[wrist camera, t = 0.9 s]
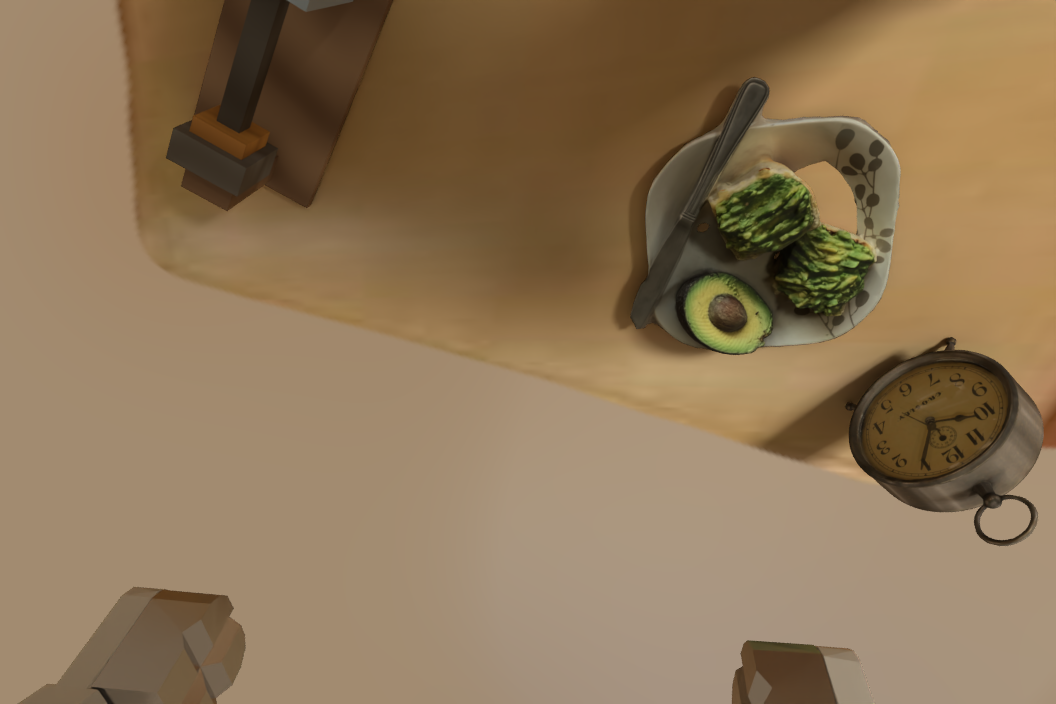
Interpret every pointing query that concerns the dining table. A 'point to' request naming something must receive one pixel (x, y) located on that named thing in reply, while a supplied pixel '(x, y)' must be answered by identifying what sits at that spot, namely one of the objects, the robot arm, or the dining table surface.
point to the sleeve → (317, 4)
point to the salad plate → (766, 232)
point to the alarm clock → (948, 434)
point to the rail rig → (275, 98)
